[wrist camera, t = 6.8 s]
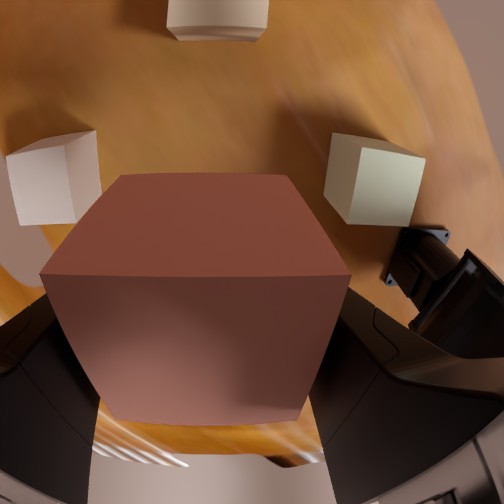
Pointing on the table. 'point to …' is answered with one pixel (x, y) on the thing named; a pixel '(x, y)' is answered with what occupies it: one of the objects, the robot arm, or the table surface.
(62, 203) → the pale grey block
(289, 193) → the brick-red block
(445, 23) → the table surface
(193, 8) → the ash block
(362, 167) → the sage green block
